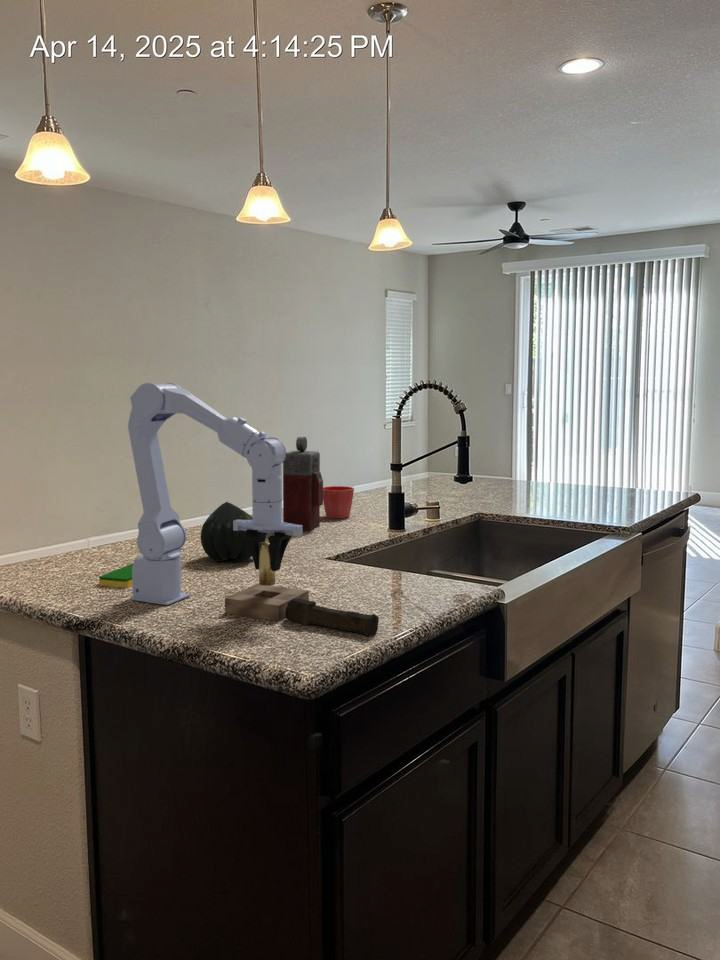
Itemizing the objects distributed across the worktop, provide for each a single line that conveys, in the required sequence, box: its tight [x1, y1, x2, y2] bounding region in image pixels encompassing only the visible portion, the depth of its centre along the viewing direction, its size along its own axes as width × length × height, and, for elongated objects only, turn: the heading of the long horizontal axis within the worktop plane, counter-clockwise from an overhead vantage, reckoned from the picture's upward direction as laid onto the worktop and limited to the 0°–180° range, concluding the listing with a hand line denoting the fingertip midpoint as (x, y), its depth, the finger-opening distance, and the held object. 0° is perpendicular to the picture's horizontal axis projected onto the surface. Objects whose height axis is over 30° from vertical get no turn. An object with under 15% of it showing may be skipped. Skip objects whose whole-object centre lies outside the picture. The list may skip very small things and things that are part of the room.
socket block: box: [224, 583, 310, 622], centre depth 156 cm, size 12×12×3 cm
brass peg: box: [258, 541, 276, 586], centre depth 155 cm, size 3×3×8 cm
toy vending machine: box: [282, 436, 324, 532], centre depth 241 cm, size 9×11×28 cm
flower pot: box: [323, 485, 355, 519], centre depth 263 cm, size 11×11×10 cm
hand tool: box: [285, 598, 380, 638], centre depth 146 cm, size 19×4×5 cm, turn 59°
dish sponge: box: [98, 563, 133, 589], centre depth 179 cm, size 7×14×2 cm, turn 163°
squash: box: [200, 501, 253, 563], centre depth 200 cm, size 14×15×15 cm
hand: (267, 569), depth 156 cm, fingers closed on brass peg, 3 cm apart
